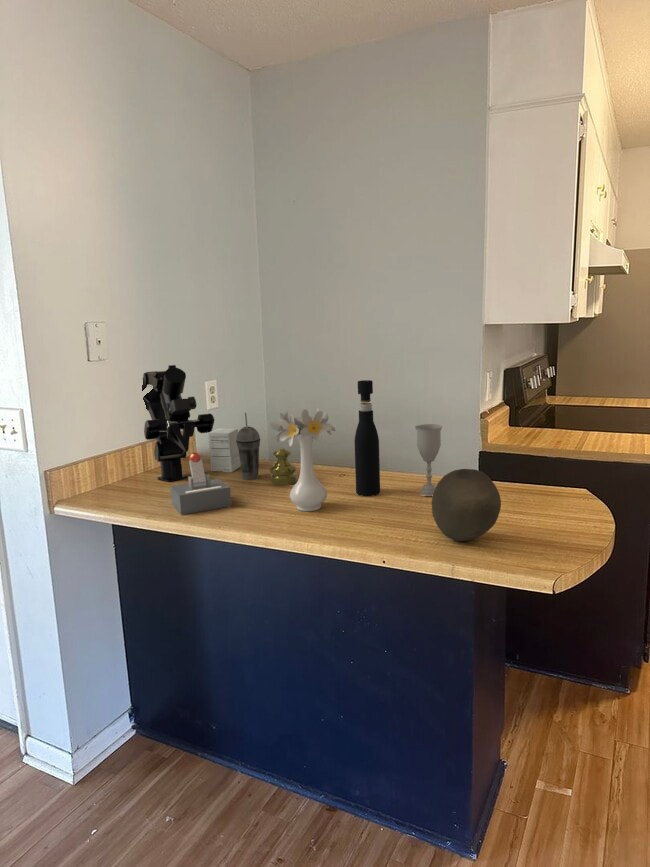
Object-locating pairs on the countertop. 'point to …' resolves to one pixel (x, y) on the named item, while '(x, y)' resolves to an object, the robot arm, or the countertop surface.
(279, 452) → the salt shaker
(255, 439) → the beverage cup
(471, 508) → the dark brown ball
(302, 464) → the flower vase
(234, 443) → the supplement box
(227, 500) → the switch box
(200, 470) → the switch lever
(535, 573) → the countertop surface
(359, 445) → the black bottle
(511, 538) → the countertop surface
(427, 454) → the chalice
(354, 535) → the countertop surface
